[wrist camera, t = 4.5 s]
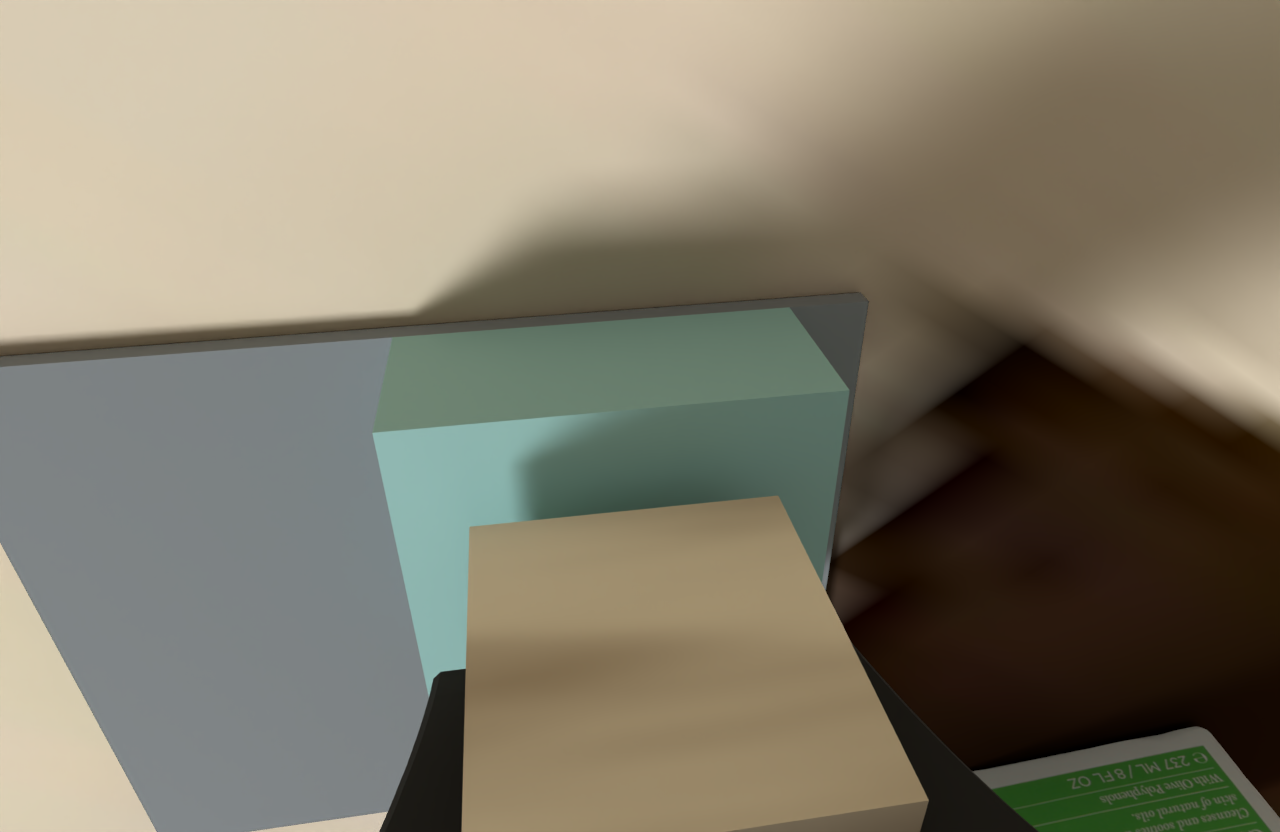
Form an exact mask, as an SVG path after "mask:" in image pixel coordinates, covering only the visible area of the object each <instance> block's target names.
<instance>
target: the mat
mask: <svg viewBox="0 0 1280 832" xmlns="http://www.w3.org/2000/svg"><path fill="white" fill-rule="evenodd" d="M868 302H869V301H868V300H867V299H866V298H865V297H864V296H863V295H862V294H861V293H847V294H834V295H820V296H807V297H793V298H780V299H767V300H753V301H740V302H726V303H713V304H699V305H686V306H672V307H659V308H645V309H632V310H618V311H605V312H592V313H578V314H565V315H551V316H538V317H524V318H511V319H497V320H484V321H470V322H457V323H443V324H430V325H417V326H403V327H390V328H376V329H363V330H349V331H336V332H322V333H309V334H295V335H282V336H268V337H255V338H242V339H228V340H215V341H201V342H188V343H174V344H161V345H147V346H134V347H120V348H107V349H94V350H80V351H67V352H53V353H40V354H26V355H13V356H0V543H1V545H2V547H3V549H4V550H5V552H6V554H7V556H8V558H9V560H10V562H11V563H12V565H13V567H14V569H15V571H16V573H17V574H18V576H19V578H20V580H21V582H22V584H23V586H24V587H25V589H26V591H27V593H28V595H29V597H30V598H31V600H32V602H33V604H34V606H35V608H36V610H37V611H38V613H39V615H40V617H41V619H42V621H43V622H44V624H45V626H46V628H47V630H48V632H49V634H50V635H51V637H52V639H53V641H54V643H55V645H56V646H57V648H58V650H59V652H60V654H61V656H62V658H63V659H64V661H65V663H66V665H67V667H68V669H69V670H70V672H71V674H72V676H73V678H74V680H75V682H76V683H77V685H78V687H79V689H80V691H81V693H82V694H83V696H84V698H85V700H86V702H87V704H88V706H89V707H90V709H91V711H92V713H93V715H94V717H95V718H96V720H97V722H98V724H99V726H100V728H101V730H102V731H103V733H104V735H105V737H106V739H107V741H108V742H109V744H110V746H111V748H112V750H113V752H114V753H115V755H116V757H117V759H118V761H119V763H120V765H121V766H122V768H123V770H124V772H125V774H126V776H127V777H128V779H129V781H130V783H131V785H132V787H133V789H134V790H135V792H136V794H137V796H138V798H139V800H140V801H141V803H142V805H143V807H144V809H145V811H146V813H147V814H148V816H149V818H150V820H151V822H152V824H153V825H154V827H155V829H156V831H157V832H249V831H256V830H263V829H270V828H277V827H284V826H291V825H298V824H305V823H312V822H319V821H325V820H332V819H339V818H346V817H353V816H360V815H367V814H374V813H381V812H388V810H389V808H390V805H391V803H392V800H393V798H394V796H395V793H396V791H397V788H398V786H399V783H400V781H401V778H402V776H403V773H404V771H405V768H406V766H407V763H408V760H409V757H410V755H411V752H412V749H413V746H414V743H415V741H416V738H417V735H418V732H419V729H420V726H421V723H422V719H423V716H424V713H425V709H426V706H427V702H428V699H429V695H428V691H427V686H426V681H425V677H424V672H423V667H422V663H421V658H420V653H419V649H418V644H417V639H416V635H415V630H414V625H413V621H412V616H411V611H410V607H409V602H408V597H407V593H406V588H405V583H404V579H403V574H402V569H401V565H400V560H399V555H398V551H397V546H396V541H395V537H394V532H393V527H392V523H391V518H390V513H389V509H388V504H387V499H386V495H385V490H384V485H383V481H382V476H381V471H380V467H379V462H378V457H377V452H376V448H375V443H374V438H373V434H372V432H373V427H374V422H375V418H376V413H377V408H378V403H379V398H380V394H381V389H382V384H383V379H384V375H385V370H386V365H387V360H388V356H389V351H390V346H391V341H392V337H404V336H417V335H430V334H444V333H457V332H470V331H483V330H496V329H510V328H523V327H536V326H549V325H562V324H576V323H589V322H602V321H615V320H628V319H642V318H655V317H668V316H681V315H694V314H708V313H721V312H734V311H747V310H760V309H774V308H787V307H790V309H791V310H792V312H793V313H794V314H795V316H796V317H797V318H798V320H799V321H800V323H801V324H802V325H803V327H804V328H805V329H806V331H807V332H808V334H809V335H810V336H811V338H812V339H813V340H814V342H815V343H816V345H817V346H818V347H819V349H820V350H821V351H822V353H823V354H824V356H825V357H826V358H827V360H828V361H829V362H830V364H831V365H832V367H833V368H834V369H835V371H836V372H837V373H838V375H839V376H840V378H841V379H842V380H843V382H844V383H845V384H846V386H847V387H848V389H849V390H850V391H849V398H848V405H847V412H846V419H845V426H844V433H843V440H842V447H841V454H840V461H839V468H838V475H837V482H836V489H835V496H834V503H833V510H832V517H831V524H830V531H829V538H828V544H827V551H826V558H825V565H824V572H823V579H822V585H823V587H824V589H825V591H826V586H827V579H828V573H829V566H830V559H831V552H832V546H833V539H834V532H835V525H836V519H837V512H838V505H839V498H840V492H841V485H842V478H843V471H844V465H845V458H846V451H847V444H848V437H849V431H850V424H851V417H852V410H853V404H854V397H855V390H856V383H857V377H858V370H859V363H860V356H861V350H862V343H863V336H864V329H865V323H866V316H867V309H868Z"/></svg>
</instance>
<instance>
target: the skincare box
mask: <svg viewBox="0 0 1280 832" xmlns="http://www.w3.org/2000/svg"><path fill="white" fill-rule="evenodd" d="M972 772H974V773H975V774H976V775H977V776H978V777H979V778H980V779H981V780H982V781H983V782H984V783H985V784H986V785H987V786H988V787H990V788H991V789H992V790H993V791H994V792H995V793H996V794H997V795H998V796H999V797H1000V798H1001V799H1002V800H1004V801H1005V802H1006V803H1007V804H1008V805H1009V806H1010V807H1011V808H1012V809H1014V810H1015V811H1016V812H1017V813H1018V814H1019V815H1020V816H1021V817H1023V818H1024V819H1025V820H1026V821H1027V822H1028V823H1029V824H1031V825H1032V826H1033V827H1034V828H1035V829H1036V830H1038V831H1039V832H1280V818H1279V817H1278V816H1277V814H1276V813H1275V812H1274V811H1273V810H1272V808H1271V807H1270V806H1269V805H1268V803H1267V802H1266V801H1265V800H1264V798H1263V797H1262V796H1261V795H1260V793H1259V792H1258V791H1257V790H1256V789H1255V787H1254V786H1253V785H1252V784H1251V783H1250V782H1249V780H1248V779H1247V778H1246V777H1245V776H1244V774H1243V773H1242V772H1241V770H1240V769H1239V768H1238V767H1237V765H1236V764H1235V763H1234V762H1233V760H1232V759H1231V758H1230V757H1229V755H1228V754H1227V753H1226V751H1225V750H1224V749H1223V748H1222V746H1221V745H1220V744H1219V743H1218V742H1217V740H1216V739H1215V738H1214V737H1213V735H1212V734H1211V733H1210V732H1209V731H1208V730H1206V729H1204V728H1201V727H1189V728H1184V729H1179V730H1175V731H1171V732H1167V733H1164V734H1160V735H1154V736H1148V737H1142V738H1137V739H1131V740H1126V741H1120V742H1116V743H1111V744H1106V745H1101V746H1097V747H1093V748H1088V749H1083V750H1078V751H1073V752H1068V753H1063V754H1058V755H1054V756H1049V757H1044V758H1039V759H1034V760H1029V761H1024V762H1019V763H1014V764H1009V765H1003V766H999V767H994V768H989V769H983V770H977V771H972Z"/></svg>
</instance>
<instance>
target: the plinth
mask: <svg viewBox="0 0 1280 832" xmlns="http://www.w3.org/2000/svg"><path fill="white" fill-rule="evenodd" d="M849 391H850V390H849V389H848V387H847V386H846V384H845V383H844V382H843V380H842V379H841V378H840V376H839V375H838V373H837V372H836V371H835V369H834V368H833V367H832V365H831V364H830V362H829V361H828V360H827V358H826V357H825V356H824V354H823V353H822V351H821V350H820V349H819V347H818V346H817V345H816V343H815V342H814V340H813V339H812V338H811V336H810V335H809V334H808V332H807V331H806V329H805V328H804V327H803V325H802V324H801V323H800V321H799V320H798V318H797V317H796V316H795V314H794V313H793V312H792V310H791V309H790V307H787V308H774V309H760V310H747V311H734V312H721V313H708V314H694V315H681V316H668V317H655V318H642V319H628V320H615V321H602V322H589V323H576V324H562V325H549V326H536V327H523V328H510V329H496V330H483V331H470V332H457V333H444V334H430V335H417V336H404V337H392V341H391V346H390V351H389V356H388V360H387V365H386V370H385V375H384V379H383V384H382V389H381V394H380V398H379V403H378V408H377V413H376V418H375V422H374V427H373V432H372V434H373V438H374V443H375V448H376V452H377V457H378V462H379V467H380V471H381V476H382V481H383V485H384V490H385V495H386V499H387V504H388V509H389V513H390V518H391V523H392V527H393V532H394V537H395V541H396V546H397V551H398V555H399V560H400V565H401V569H402V574H403V579H404V583H405V588H406V593H407V597H408V602H409V607H410V611H411V616H412V621H413V625H414V630H415V635H416V639H417V644H418V649H419V653H420V658H421V663H422V667H423V672H424V677H425V681H426V686H427V691H428V695H430V691H431V687H432V682H433V678H434V677H436V676H437V675H438V674H439V673H440V672H443V671H451V670H459V669H466V640H467V602H468V563H469V527H472V526H482V525H492V524H501V523H511V522H521V521H531V520H541V519H551V518H561V517H571V516H581V515H590V514H600V513H610V512H620V511H630V510H640V509H650V508H660V507H670V506H679V505H689V504H699V503H709V502H719V501H729V500H739V499H749V498H759V497H768V496H779V498H780V500H781V502H782V504H783V506H784V508H785V510H786V512H787V514H788V516H789V518H790V520H791V522H792V524H793V526H794V528H795V530H796V532H797V534H798V536H799V539H800V541H801V543H802V545H803V547H804V549H805V551H806V553H807V555H808V557H809V559H810V561H811V563H812V565H813V567H814V569H815V571H816V573H817V575H818V577H819V579H820V581H821V583H822V579H823V572H824V565H825V558H826V551H827V544H828V538H829V531H830V524H831V517H832V510H833V503H834V496H835V489H836V482H837V475H838V468H839V461H840V454H841V447H842V440H843V433H844V426H845V419H846V412H847V405H848V398H849Z"/></svg>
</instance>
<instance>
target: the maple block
mask: <svg viewBox="0 0 1280 832" xmlns="http://www.w3.org/2000/svg"><path fill="white" fill-rule="evenodd" d="M928 802H929V800H928V798H927V796H926V794H925V791H924V789H923V787H922V785H921V783H920V781H919V779H918V777H917V775H916V773H915V771H914V769H913V767H912V765H911V763H910V761H909V759H908V757H907V755H906V753H905V751H904V749H903V747H902V745H901V743H900V741H899V739H898V737H897V735H896V733H895V731H894V729H893V727H892V725H891V723H890V721H889V719H888V717H887V715H886V713H885V711H884V709H883V706H882V704H881V702H880V700H879V698H878V696H877V694H876V692H875V690H874V688H873V686H872V684H871V682H870V680H869V678H868V676H867V674H866V672H865V670H864V668H863V666H862V664H861V662H860V660H859V658H858V656H857V654H856V652H855V650H854V648H853V646H852V644H851V642H850V640H849V638H848V636H847V634H846V632H845V630H844V628H843V626H842V624H841V621H840V619H839V617H838V615H837V613H836V611H835V609H834V607H833V605H832V603H831V601H830V599H829V597H828V595H827V593H826V591H825V589H824V587H823V585H822V583H821V581H820V579H819V577H818V575H817V573H816V571H815V569H814V567H813V565H812V563H811V561H810V559H809V557H808V555H807V553H806V551H805V549H804V547H803V545H802V543H801V541H800V539H799V536H798V534H797V532H796V530H795V528H794V526H793V524H792V522H791V520H790V518H789V516H788V514H787V512H786V510H785V508H784V506H783V504H782V502H781V500H780V498H779V496H768V497H759V498H749V499H739V500H729V501H719V502H709V503H699V504H689V505H679V506H670V507H660V508H650V509H640V510H630V511H620V512H610V513H600V514H590V515H581V516H571V517H561V518H551V519H541V520H531V521H521V522H511V523H501V524H492V525H482V526H472V527H469V563H468V602H467V640H466V679H465V718H464V756H463V795H462V832H920V830H921V826H922V823H923V819H924V816H925V812H926V809H927V805H928Z"/></svg>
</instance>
